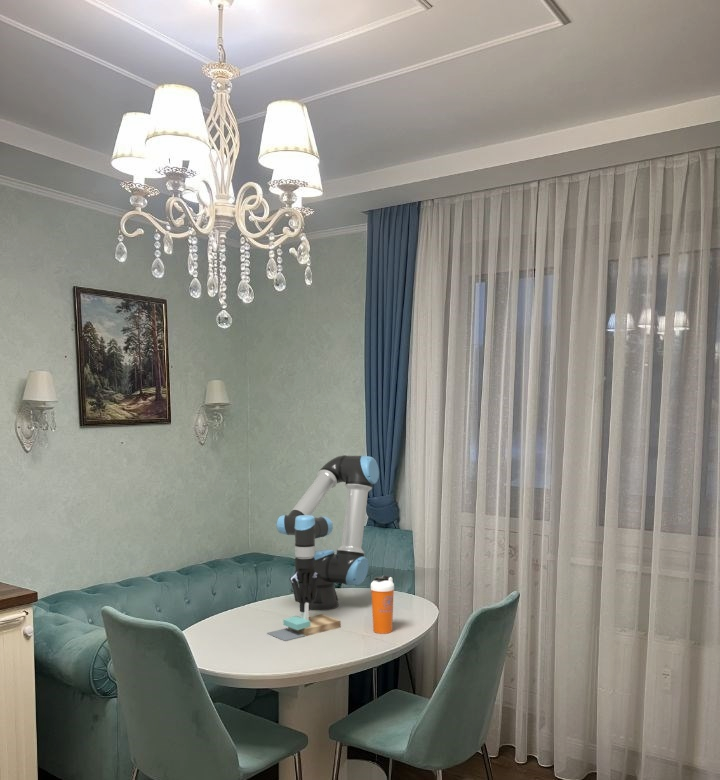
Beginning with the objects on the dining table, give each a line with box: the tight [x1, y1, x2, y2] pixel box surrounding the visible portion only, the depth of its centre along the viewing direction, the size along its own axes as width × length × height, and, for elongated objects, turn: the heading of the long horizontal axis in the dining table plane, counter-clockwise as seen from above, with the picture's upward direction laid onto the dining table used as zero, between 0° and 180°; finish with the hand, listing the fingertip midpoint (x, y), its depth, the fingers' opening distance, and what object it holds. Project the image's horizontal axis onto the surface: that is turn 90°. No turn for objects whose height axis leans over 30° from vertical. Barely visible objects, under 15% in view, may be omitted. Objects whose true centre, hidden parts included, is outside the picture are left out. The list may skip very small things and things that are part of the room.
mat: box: [266, 627, 306, 642], centre depth 262 cm, size 9×12×1 cm
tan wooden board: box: [287, 614, 342, 637], centre depth 271 cm, size 16×12×2 cm
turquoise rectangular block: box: [282, 615, 311, 630], centre depth 265 cm, size 6×9×2 cm, turn 40°
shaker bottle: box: [370, 574, 395, 635], centre depth 267 cm, size 9×9×20 cm
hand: (304, 620), depth 268 cm, fingers closed
